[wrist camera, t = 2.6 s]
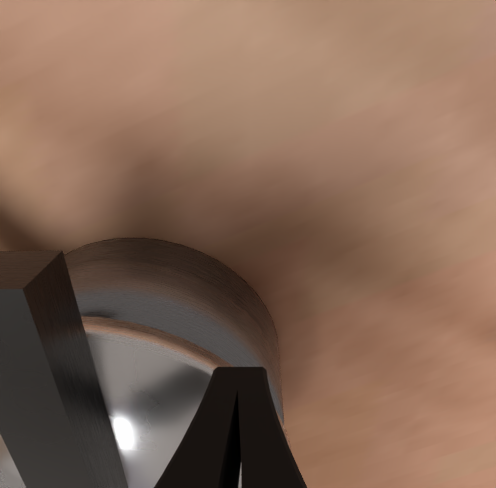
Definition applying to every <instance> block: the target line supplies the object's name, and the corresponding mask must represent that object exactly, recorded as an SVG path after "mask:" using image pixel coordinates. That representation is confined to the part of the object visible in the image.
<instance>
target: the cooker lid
mask: <svg viewBox="0 0 496 488" xmlns="http://www.w3.org/2000/svg"><path fill="white" fill-rule="evenodd" d="M217 367H234V366H233V365H231V364H230V363H228V362H226V361H225V360H223V359H222V358H220V357H218V356H217V355H215V354H214V353H212V352H211V351H209V350H207V349H205V348H203V347H200V346H198V345H196V344H194V343H192V342H190V341H188V340H186V339H184V338H181V337H178V336H176V335H173V334H170V333H167V332H165V331H162V330H159V329H156V328H152V327H148V326H144V325H140V324H136V323H132V322H128V321H122V320H115V319H109V318H102V317H88V316H81V315H80V312H79V308H78V305H77V301H76V297H75V294H74V290H73V287H72V283H71V279H70V276H69V272H68V269H67V265H66V262H65V258H64V254H63V251H0V488H154V487H155V485H156V483H157V482H158V480H159V479H160V477H161V475H162V474H163V472H164V470H165V469H166V467H167V465H168V463H169V462H170V460H171V458H172V457H173V455H174V453H175V451H176V450H177V448H178V446H179V444H180V443H181V441H182V439H183V437H184V435H185V433H186V431H187V429H188V427H189V425H190V423H191V421H192V420H193V418H194V416H195V414H196V412H197V409H198V407H199V405H200V403H201V401H202V399H203V396H204V394H205V392H206V389H207V387H208V384H209V382H210V379H211V376H212V373H213V370H214V369H215V368H217ZM276 413H277V416H278V419H279V421H280V424H281V427H282V429H283V432H284V435H285V437H286V440H287V443H288V445H289V448H290V450H291V446H290V442H289V438H288V435H287V431H286V429H285V427H284V424H283V422H282V420H281V418H280V416H279V414H278V412H277V411H276ZM241 487H242V485H241V468H240V477H239V485H238V488H241Z"/></svg>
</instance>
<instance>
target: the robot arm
mask: <svg viewBox="0 0 496 488" xmlns="http://www.w3.org/2000/svg"><path fill="white" fill-rule="evenodd" d="M240 468H241V485H242V487H241V488H307V486H306V484H305V482H304V480H303V478H302V475H301V473H300V471H299V469H298V466H297V464H296V462H295V460H294V457H293V455H292V453H291V450H290V448H289V445H288V443H287V440H286V437H285V435H284V432H283V429H282V427H281V424H280V421H279V419H278V416H277V413H276V409H275V406H274V403H273V400H272V396H271V392H270V388H269V383H268V378H267V370H266V369H265V368H264V367H217V368H215V369H214V370H213V373H212V376H211V379H210V382H209V384H208V387H207V389H206V392H205V394H204V396H203V399H202V401H201V403H200V405H199V407H198V409H197V412H196V414H195V416H194V418H193V420H192V421H191V423H190V425H189V427H188V429H187V431H186V433H185V435H184V437H183V439H182V441H181V443H180V444H179V446H178V448H177V450H176V451H175V453H174V455H173V457H172V458H171V460H170V462H169V463H168V465H167V467H166V469H165V470H164V472H163V474H162V475H161V477H160V479H159V480H158V482H157V483H156V485H155V487H154V488H238V485H239V477H240Z"/></svg>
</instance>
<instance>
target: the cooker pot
mask: <svg viewBox="0 0 496 488" xmlns="http://www.w3.org/2000/svg"><path fill="white" fill-rule="evenodd" d="M64 258H65V262H66V265H67V269H68V272H69V276H70V279H71V283H72V287H73V290H74V294H75V297H76V301H77V305H78V308H79V312H80V315H81V316H88V317H102V318H109V319H115V320H122V321H128V322H132V323H136V324H140V325H144V326H148V327H152V328H156V329H159V330H162V331H165V332H167V333H170V334H173V335H176V336H178V337H181V338H184V339H186V340H188V341H190V342H192V343H194V344H196V345H198V346H200V347H203V348H205V349H207V350H209V351H211V352H212V353H214V354H215V355H217V356H218V357H220V358H222V359H223V360H225V361H226V362H228V363H230V364H231V365H233V366H234V367H264V368H265V369H266V370H267V378H268V383H269V388H270V392H271V396H272V400H273V403H274V406H275V409H276V411H277V412H278V414H279V416H280V418H281V420H282V422H283V424H284V415H283V402H282V388H281V375H280V361H279V348H278V340H277V334H276V330H275V327H274V324H273V321H272V319H271V317H270V314H269V312H268V310H267V308H266V307H265V305H264V304H263V302H262V301H261V299H260V298H259V296H258V295H257V294H256V293H255V291H254V290H253V289H252V288H251V287H250V286H249V285H248V284H247V283H246V282H245V281H244V280H243V279H242V278H241V277H240V276H238V275H237V274H236V273H235V272H234V271H232V270H231V269H229V268H228V267H226V266H225V265H223V264H222V263H220V262H219V261H217V260H215V259H213V258H211V257H209V256H207V255H205V254H203V253H201V252H199V251H196V250H194V249H191V248H188V247H185V246H183V245H179V244H175V243H171V242H166V241H162V240H154V239H146V238H120V239H112V240H104V241H100V242H96V243H92V244H88V245H85V246H83V247H81V248H78V249H76V250H73V251H71V252H69V253H67V254H66V255H64Z"/></svg>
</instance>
